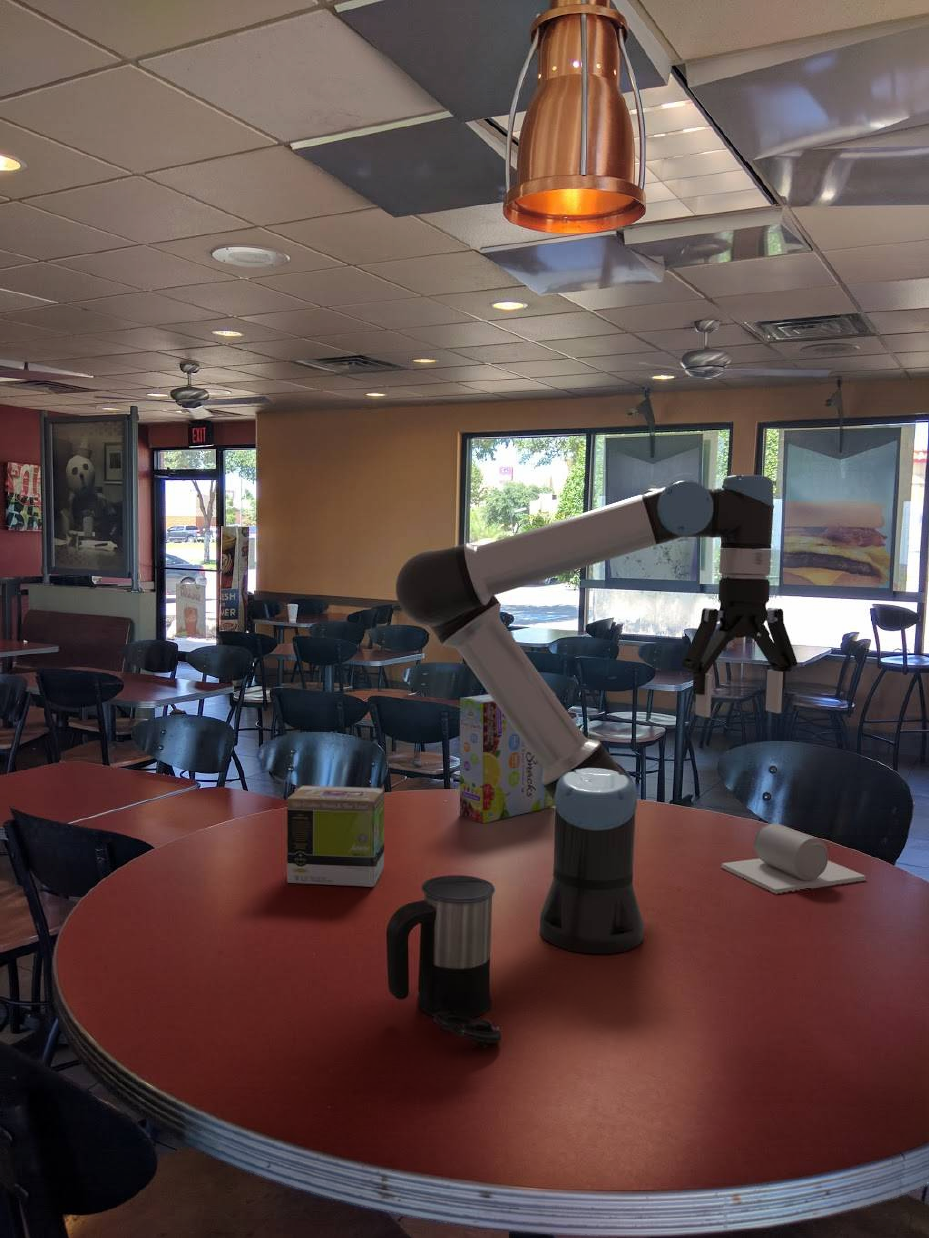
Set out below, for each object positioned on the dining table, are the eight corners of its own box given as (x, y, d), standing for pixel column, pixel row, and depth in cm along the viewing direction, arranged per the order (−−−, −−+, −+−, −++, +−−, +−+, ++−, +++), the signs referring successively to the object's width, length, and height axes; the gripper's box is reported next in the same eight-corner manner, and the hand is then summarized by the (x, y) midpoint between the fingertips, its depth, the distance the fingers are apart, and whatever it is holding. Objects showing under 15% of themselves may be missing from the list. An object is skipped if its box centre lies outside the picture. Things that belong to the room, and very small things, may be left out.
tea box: (384, 869, 166) (386, 786, 165) (373, 889, 156) (375, 801, 155) (301, 864, 168) (302, 782, 167) (284, 884, 158) (285, 797, 157)
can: (813, 891, 162) (764, 869, 173) (838, 857, 164) (788, 838, 175) (791, 864, 160) (743, 843, 171) (816, 830, 161) (767, 812, 172)
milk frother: (453, 979, 124) (456, 868, 123) (549, 1021, 113) (553, 900, 112) (372, 1017, 113) (374, 896, 112) (470, 1067, 103) (473, 934, 102)
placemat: (775, 893, 158) (775, 889, 158) (721, 867, 171) (721, 863, 171) (865, 880, 166) (865, 875, 166) (807, 856, 179) (807, 852, 179)
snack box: (529, 799, 216) (532, 687, 214) (556, 808, 209) (560, 692, 207) (455, 815, 202) (458, 695, 200) (482, 824, 195) (485, 700, 193)
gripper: (692, 576, 137) (686, 721, 139) (825, 578, 147) (818, 714, 148) (662, 575, 144) (657, 713, 146) (790, 577, 154) (784, 706, 155)
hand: (738, 714), depth 147 cm, fingers open, 13 cm apart
